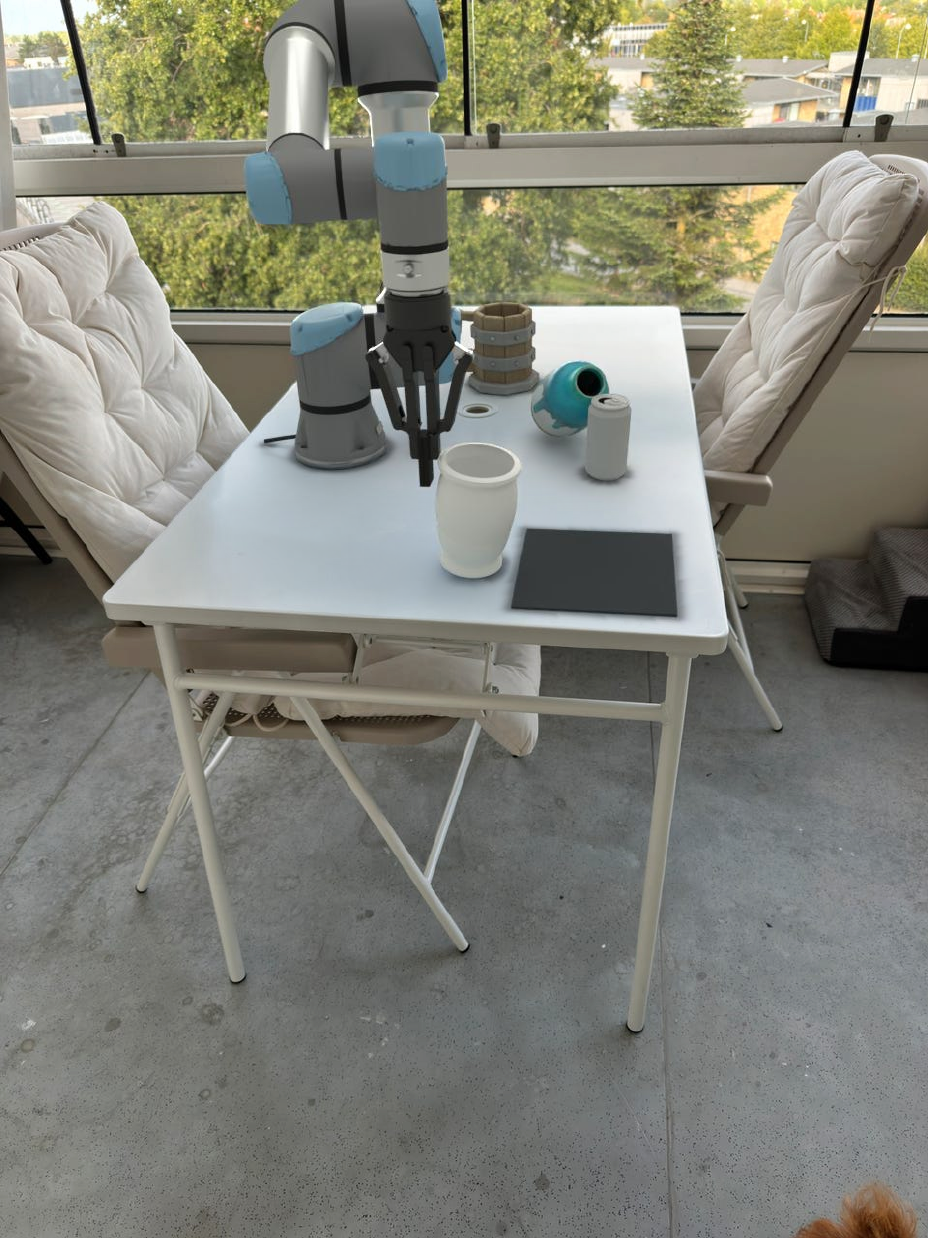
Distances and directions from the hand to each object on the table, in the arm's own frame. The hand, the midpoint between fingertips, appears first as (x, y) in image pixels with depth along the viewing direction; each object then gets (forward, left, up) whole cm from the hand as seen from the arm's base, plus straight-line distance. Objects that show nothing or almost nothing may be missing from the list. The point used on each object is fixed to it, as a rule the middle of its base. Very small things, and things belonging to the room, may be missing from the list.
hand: (427, 482), depth 117 cm
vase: (+13, +47, -9) cm, 50 cm away
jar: (+5, +1, -12) cm, 13 cm away
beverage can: (+22, +30, -12) cm, 39 cm away
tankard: (-2, +70, -13) cm, 71 cm away
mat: (+21, +1, -12) cm, 25 cm away
